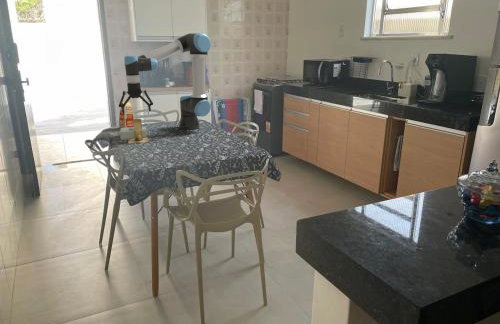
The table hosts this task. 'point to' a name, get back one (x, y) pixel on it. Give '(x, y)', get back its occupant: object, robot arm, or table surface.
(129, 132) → the housing
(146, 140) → the pad
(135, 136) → the plug
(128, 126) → the milk carton
